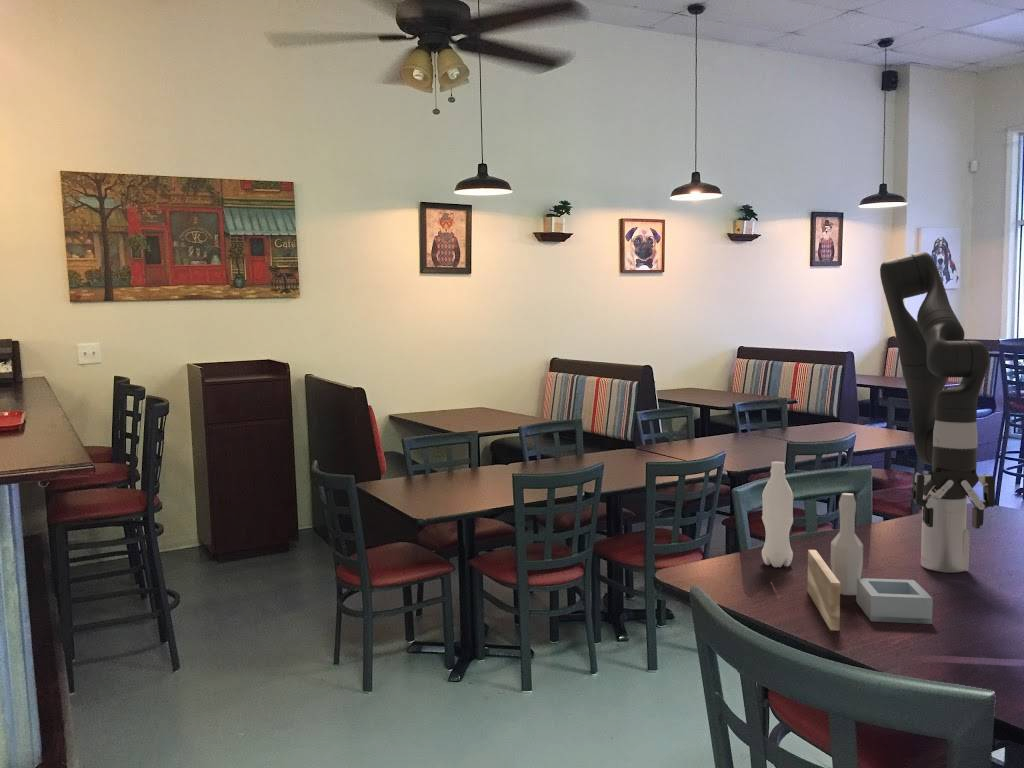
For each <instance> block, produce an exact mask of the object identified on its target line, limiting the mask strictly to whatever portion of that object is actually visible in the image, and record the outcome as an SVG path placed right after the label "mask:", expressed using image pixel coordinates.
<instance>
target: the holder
mask: <svg viewBox="0 0 1024 768" xmlns="http://www.w3.org/2000/svg"><path fill="white" fill-rule="evenodd" d="M855 596H856V599H855V600H856V601H855V602H856V603H857V605H858V606H859V607H860V608H861V610H862V611H863V613H864V614H865V616H867V618H868V619H869V621H870V622H881V623H900V624H901V623H904V624H905V623H906V624H922V625H923V624H924V625H925V624H927V625H928V624H929V625H931V624H932V625H933V605H934V604H933V601H934V600H933V597H932V596H931V595H930V594H929V593H928V592H927V591H926V590H925V589H924V588H923V587H922V586H921V585H920V584H919V583H918V582H917V581H916V580H915V579H895V578H891V579H889V578H867V577H865V578H864V577H861V578H857V594H856V595H855Z"/></svg>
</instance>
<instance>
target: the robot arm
mask: <svg viewBox="0 0 1024 768" xmlns="http://www.w3.org/2000/svg"><path fill="white" fill-rule="evenodd" d="M879 275H880V281H881V282H880V283H881V285H882V289H883V293H884V296H885V299H886V304H887V306H888V310H889V314H890V317H891V321H892V326H893V330H894V335H895V338H896V344H897V349H898V355H899V361H900V366H901V370H902V375H903V380H904V383H905V387H906V392H907V397H908V403H909V407H910V414H911V421H912V422H911V424H912V434H913V440H914V441H913V442H914V449H915V452H916V455H917V457H918V459H919V460H920V462H921V463H923V464H926V465H930V466H931V468H932V469H931V472H930V473H929V474H928V473H920V472H915V473H914V474H913V484H912V485H913V487H912V497H911V500H912V502H914V503H915V504H916V505H917V506H918V505H919V506H922V507H921V539H920V540H921V541H920V542H921V545H920V547H921V551H920V552H921V554H920V565H921V566H922V568H925V569H927V570H930V571H935V572H940V573H950V574H951V573H952V574H953V573H962V572H969V560H970V556H969V555H970V530H968V529H967V512H968V511H967V506H968V505H967V503H968V500H969V502H971V504H972V505H973V507H972V508H971V510H972V511H971V527H972V528H974V529H975V530H976V529H977V530H978V529H980V528H981V526H983V525H984V513H985V509H987V508H989V507H990V508H992V507H994V506H996V481H995V479H996V478H995V476H993V475H991V474H988V473H984V474H982V475H981V474H980V475H978V473H977V462H978V461H977V460H978V444H979V439H978V426H977V425H978V424H977V419H978V416H977V412H978V399H979V395H980V392H981V389H982V385H983V382H984V379H985V376H986V374H987V371H988V369H989V365H990V358H991V357H990V353H989V350H988V347H987V346H986V345H985V344H984V343H983V342H981V341H977V340H965V330H964V328H963V326H962V324H961V322H960V321H959V319H958V317H957V315H956V314H955V312H954V311H953V308H952V306H951V303H950V300H949V298H948V295H947V291H946V288H945V285H944V282H943V280H942V275H941V274H940V270H939V268H938V265H937V263H936V262H935V259H934V258H933V257H932V256H931V254H930V253H928V252H927V251H920V252H919V251H918V252H915V253H911V254H906V255H903V256H900V257H896V258H892V259H888V260H885V261H884V262H882V263H881V264H880V268H879ZM924 294H926V296H925V297H924V298H923V300H922V302H921V304H920V306H919V309H918V311H917V315H916V319H915V318H914V317H913V316H912V315H911V313H910V312H909V311H908V310H907V307H906V306H905V303H904V299H908V298H913V297H916V296H920V295H924ZM949 378H962V380H961V381H960V383H959V384H958V385H957V386H956V387H952V388H949V389H945V386H946V384H947V381H948V379H949ZM978 482H979V484H980V486H982V493H983V494H982V497H983V498H982V499H980V497H979V495H978V494H977V493H976V492H975V490H974V489H973V488H974V487H975V486H976V485H977V484H978Z"/></svg>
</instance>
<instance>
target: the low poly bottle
mask: <svg viewBox="0 0 1024 768" xmlns="http://www.w3.org/2000/svg"><path fill="white" fill-rule="evenodd" d="M856 508H857V502H856V498H855V495H854V493H852V492H851V493H849V492H843V493H841V495H840V498H839V501H838V509H839V510H838V512H839V532H838V533H837V535H836V536H835V537H834V538H833V539H832V540H831V542H830V567H831V568H830V570H831V571H832V573H833V574H834V575H835V577H836V578H837V579H838V581H839V582H840V595H845V596H856V595H857V578H862V572H863V567H864V566H863V563H864V544H863V543H862V541H861V540H860V538H859V537H858V536H857V534H856V533H855V528H856V527H855V522H856V521H855V518H856V510H857V509H856Z"/></svg>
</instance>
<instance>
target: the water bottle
mask: <svg viewBox="0 0 1024 768" xmlns="http://www.w3.org/2000/svg"><path fill="white" fill-rule="evenodd" d="M769 473H770V478H769V480H768V481H767V483H766V485H765V487H764V488H763V491H762V494H761V496H762V516H761V520H762V523H763V526H764V529H765V540H764V544H763V546H762V549H761V557H762V560H763V562H764V564H765V565H766V566H770V565H771V566H772V567H774V568H777V567H779V568H781V567H783V566H784V567H785V566H787V567H790V565H791V563H792V561H793V556H794V552H793V549H792V548H791V544H790V532H791V527H792V525H793V523H794V514H793V513H794V512H793V511H794V510H793V509H794V494H793V493H794V492H793V491H792V489H791V486H790V485H789V482H788V480H787V477H786V473H787V472H786V469H785V462H784V461H776V460H775V461H771V468H770V470H769Z"/></svg>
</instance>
